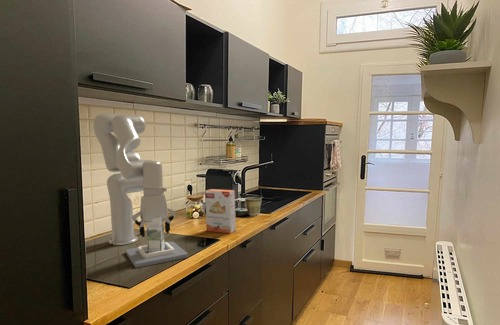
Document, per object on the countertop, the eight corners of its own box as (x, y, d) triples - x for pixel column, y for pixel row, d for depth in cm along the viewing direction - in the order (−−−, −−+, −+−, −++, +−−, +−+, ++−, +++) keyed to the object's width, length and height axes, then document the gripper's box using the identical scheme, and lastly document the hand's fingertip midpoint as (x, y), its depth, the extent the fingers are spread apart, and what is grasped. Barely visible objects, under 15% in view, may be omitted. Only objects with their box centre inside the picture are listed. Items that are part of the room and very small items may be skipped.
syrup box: (165, 248, 141) (163, 213, 140) (161, 253, 135) (160, 217, 134) (151, 249, 141) (149, 214, 140) (147, 253, 135) (145, 217, 134)
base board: (125, 253, 141) (125, 245, 141) (173, 244, 151) (172, 237, 151) (135, 268, 124) (135, 259, 124) (188, 257, 134) (188, 249, 134)
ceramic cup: (259, 216, 202) (259, 199, 201) (243, 215, 205) (243, 199, 204) (264, 211, 214) (264, 196, 214) (249, 211, 217) (249, 195, 217)
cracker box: (206, 231, 172) (204, 190, 170) (212, 228, 177) (210, 188, 176) (230, 234, 166) (229, 191, 164) (236, 231, 171) (235, 189, 170)
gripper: (171, 189, 143) (173, 229, 144) (128, 193, 135) (131, 235, 136) (177, 191, 137) (179, 233, 138) (132, 195, 128) (134, 240, 129)
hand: (155, 234), depth 137 cm, fingers open, 9 cm apart
